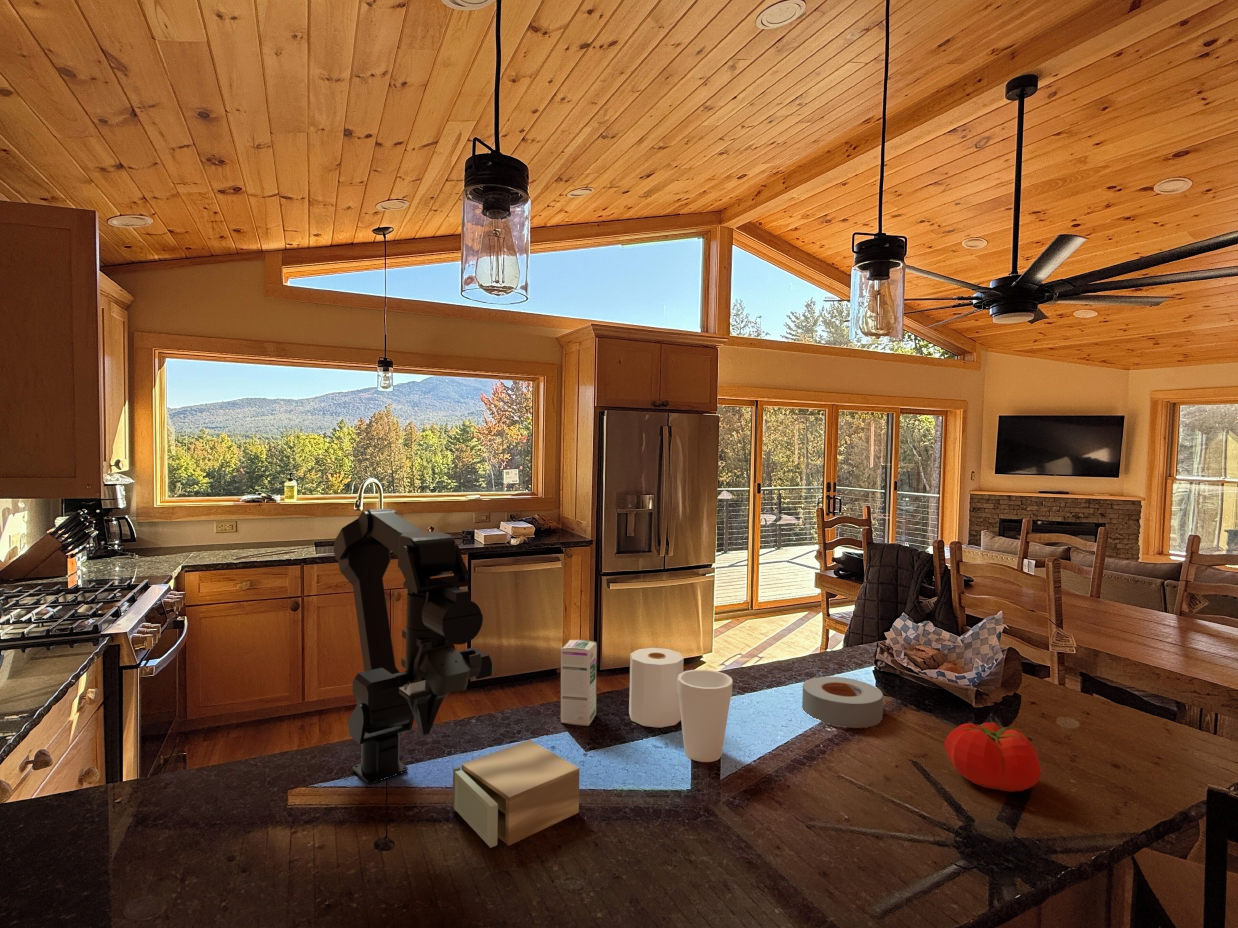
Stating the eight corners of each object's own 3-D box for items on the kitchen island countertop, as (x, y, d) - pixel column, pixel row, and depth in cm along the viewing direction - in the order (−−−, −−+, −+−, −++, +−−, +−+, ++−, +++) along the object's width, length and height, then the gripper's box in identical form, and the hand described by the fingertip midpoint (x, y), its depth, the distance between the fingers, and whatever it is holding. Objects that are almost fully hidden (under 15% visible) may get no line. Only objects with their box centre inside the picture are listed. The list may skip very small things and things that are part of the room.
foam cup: (668, 759, 113) (670, 683, 113) (684, 737, 122) (685, 666, 122) (723, 770, 110) (726, 692, 109) (736, 747, 118) (738, 674, 118)
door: (451, 806, 97) (451, 767, 96) (458, 804, 97) (458, 765, 97) (489, 848, 87) (490, 805, 87) (497, 845, 87) (497, 803, 87)
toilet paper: (618, 718, 130) (620, 656, 129) (647, 702, 138) (649, 643, 138) (663, 732, 124) (665, 667, 123) (691, 714, 132) (692, 653, 132)
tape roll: (790, 699, 142) (791, 675, 142) (860, 698, 143) (860, 674, 143) (820, 731, 127) (821, 704, 126) (897, 729, 128) (898, 702, 128)
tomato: (1051, 782, 108) (1053, 728, 108) (1033, 813, 99) (1035, 754, 99) (958, 754, 118) (960, 704, 117) (934, 779, 109) (936, 725, 108)
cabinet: (461, 808, 97) (461, 763, 97) (529, 780, 105) (529, 739, 105) (508, 845, 88) (509, 796, 88) (578, 812, 97) (579, 767, 96)
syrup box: (589, 726, 126) (591, 649, 125) (559, 723, 127) (560, 646, 126) (596, 714, 131) (598, 640, 131) (567, 711, 133) (568, 638, 132)
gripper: (387, 654, 82) (385, 778, 83) (516, 627, 94) (512, 735, 95) (352, 631, 90) (349, 744, 91) (474, 609, 103) (471, 709, 103)
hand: (424, 733), depth 95 cm, fingers closed
